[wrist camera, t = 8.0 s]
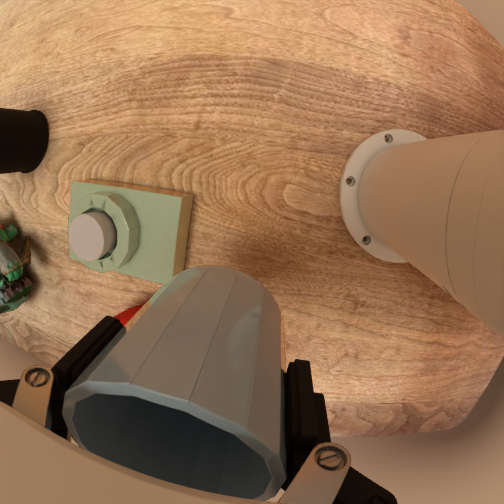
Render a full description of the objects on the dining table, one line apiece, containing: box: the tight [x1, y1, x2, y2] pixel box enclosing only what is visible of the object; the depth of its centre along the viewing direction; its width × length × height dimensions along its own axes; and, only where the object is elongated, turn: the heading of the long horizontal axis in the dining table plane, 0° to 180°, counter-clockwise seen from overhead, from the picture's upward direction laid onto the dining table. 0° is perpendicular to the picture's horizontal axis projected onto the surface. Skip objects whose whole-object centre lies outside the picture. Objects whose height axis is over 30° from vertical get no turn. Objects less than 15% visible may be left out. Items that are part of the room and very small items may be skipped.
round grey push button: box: [68, 211, 116, 262], centre depth 22 cm, size 4×4×2 cm
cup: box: [62, 265, 287, 501], centre depth 10 cm, size 7×7×8 cm
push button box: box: [68, 179, 194, 285], centre depth 25 cm, size 12×8×6 cm, turn 79°
